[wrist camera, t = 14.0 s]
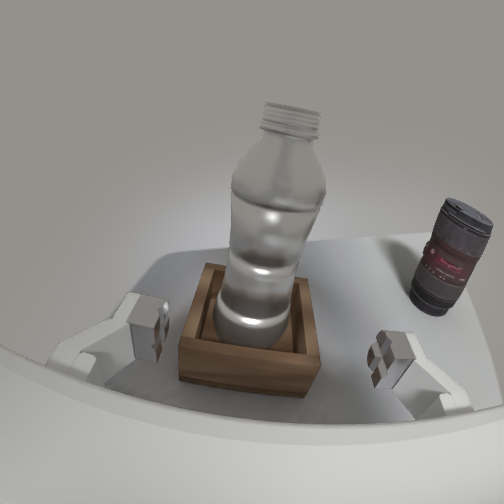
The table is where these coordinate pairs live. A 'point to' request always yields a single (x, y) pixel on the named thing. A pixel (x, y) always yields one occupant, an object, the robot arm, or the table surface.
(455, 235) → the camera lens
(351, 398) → the table surface
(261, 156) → the plastic bottle
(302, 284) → the open wooden box
